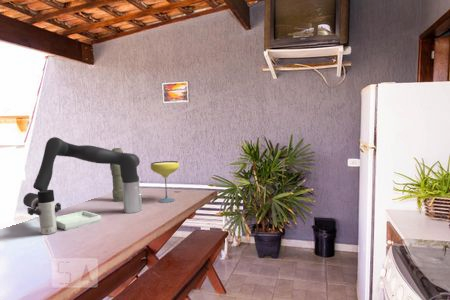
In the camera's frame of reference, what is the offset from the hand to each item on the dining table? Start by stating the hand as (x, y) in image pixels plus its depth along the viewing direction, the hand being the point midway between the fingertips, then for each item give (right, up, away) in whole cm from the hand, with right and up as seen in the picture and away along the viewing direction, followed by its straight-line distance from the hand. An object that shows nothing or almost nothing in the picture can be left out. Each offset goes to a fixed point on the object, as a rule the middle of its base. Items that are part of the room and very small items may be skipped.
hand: (48, 211), depth 145 cm
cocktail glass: (+44, -5, +60) cm, 74 cm away
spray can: (-1, -11, +3) cm, 11 cm away
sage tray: (+5, -9, +17) cm, 20 cm away
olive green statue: (+11, -5, +66) cm, 67 cm away
